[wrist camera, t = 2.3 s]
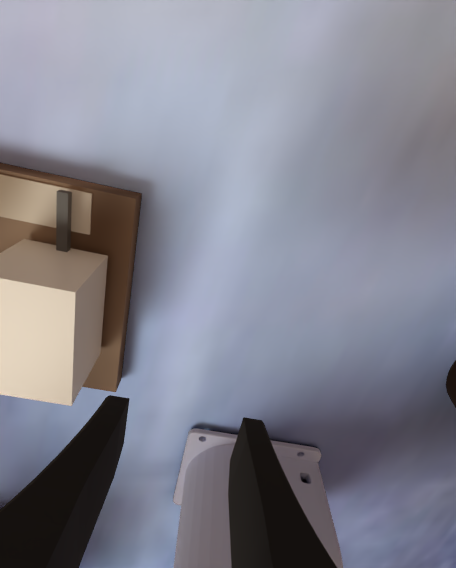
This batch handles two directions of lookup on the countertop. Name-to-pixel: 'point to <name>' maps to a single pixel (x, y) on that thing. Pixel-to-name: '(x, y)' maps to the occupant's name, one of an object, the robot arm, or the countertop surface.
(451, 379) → the coffee mug
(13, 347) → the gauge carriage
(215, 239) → the countertop surface
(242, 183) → the countertop surface
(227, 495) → the robot arm
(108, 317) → the frame
